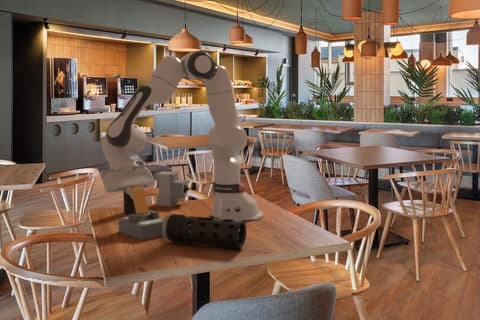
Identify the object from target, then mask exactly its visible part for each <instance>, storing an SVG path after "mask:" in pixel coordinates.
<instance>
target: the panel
mask: <svg viewBox="0 0 480 320" xmlns="http://www.w3.org/2000/svg"><path fill="white" fill-rule="evenodd" d="M148 210H149V209H148ZM149 212H150V213H151V217H149V218H144V219H140V216H139V215H137V213H136V214H133V213H132V214H127V216H125V217H122V218H120V217H119V218H118V232H120V233H122V234H124V235H127V236H129V237H132V238H135V239H138V240H139V241H140V240H141V241H144V240H150V239H154V238H158V237H162V236H163V234H162V225H163V221H164V219H165V218H161V217H159V212H158V211H156V210H153V209H150V210H149ZM163 237H164V236H163Z"/></svg>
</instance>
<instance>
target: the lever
mask: <svg viewBox="0 0 480 320" xmlns="http://www.w3.org/2000/svg"><path fill="white" fill-rule="evenodd" d="M144 190H145V188H144V187H143V186H142V187H135V188H131V189H130V192H131V193H132V197H133V201H134V205H135V209H136V215H139V216H140V219H144V218H149V217H151V213H150V212H149V207H148V206H149V205H148V201H147V198H146V194H145V191H144Z"/></svg>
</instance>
